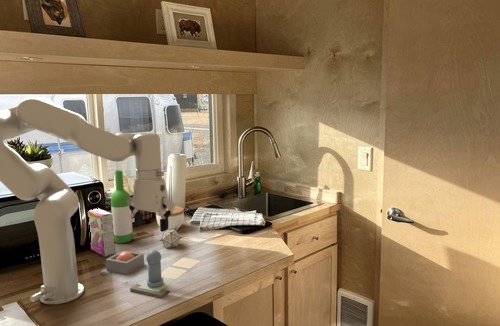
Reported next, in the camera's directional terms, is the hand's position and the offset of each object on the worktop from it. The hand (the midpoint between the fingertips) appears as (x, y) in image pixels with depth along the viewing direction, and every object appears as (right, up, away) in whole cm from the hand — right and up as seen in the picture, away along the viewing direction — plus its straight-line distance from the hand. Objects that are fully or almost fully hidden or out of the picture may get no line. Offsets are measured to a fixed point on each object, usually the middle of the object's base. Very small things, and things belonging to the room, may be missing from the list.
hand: (151, 228), depth 129 cm
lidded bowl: (-5, -10, +60) cm, 61 cm away
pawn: (0, -18, +3) cm, 19 cm away
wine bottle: (-23, -13, +46) cm, 53 cm away
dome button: (-13, -16, +17) cm, 27 cm away
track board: (+4, -18, +11) cm, 22 cm away
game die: (-1, -14, +36) cm, 39 cm away
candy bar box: (-27, -15, +34) cm, 46 cm away
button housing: (-13, -17, +17) cm, 27 cm away
